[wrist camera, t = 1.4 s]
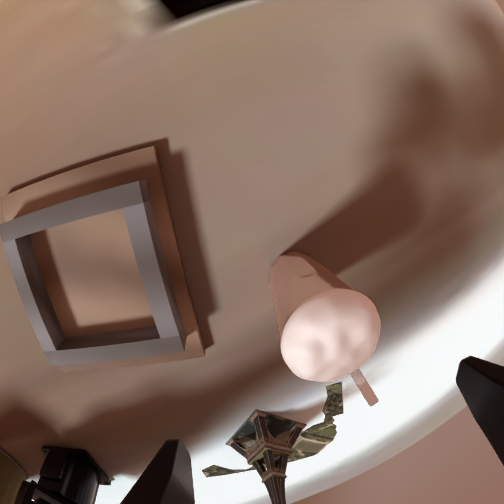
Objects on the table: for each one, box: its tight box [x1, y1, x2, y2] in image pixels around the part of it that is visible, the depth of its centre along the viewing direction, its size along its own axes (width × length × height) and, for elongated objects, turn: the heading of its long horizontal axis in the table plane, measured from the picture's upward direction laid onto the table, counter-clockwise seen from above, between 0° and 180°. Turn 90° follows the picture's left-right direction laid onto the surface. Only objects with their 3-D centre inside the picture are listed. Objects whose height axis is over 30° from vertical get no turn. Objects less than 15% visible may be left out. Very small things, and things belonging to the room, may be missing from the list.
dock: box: [0, 146, 205, 372], centre depth 18 cm, size 14×12×3 cm
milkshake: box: [269, 251, 381, 406], centre depth 16 cm, size 4×5×10 cm
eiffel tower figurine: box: [202, 383, 343, 504], centre depth 19 cm, size 15×10×13 cm
